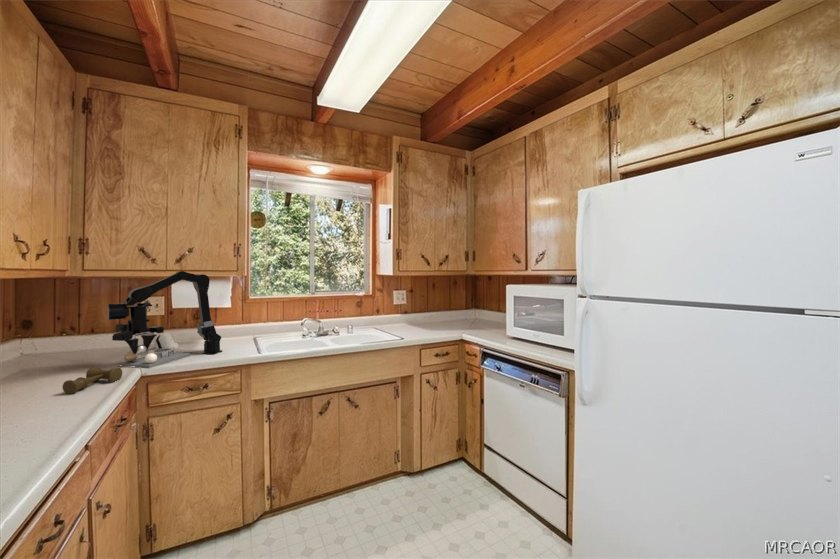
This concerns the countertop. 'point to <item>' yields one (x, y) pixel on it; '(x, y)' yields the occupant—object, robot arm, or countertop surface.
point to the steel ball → (141, 349)
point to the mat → (141, 361)
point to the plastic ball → (150, 358)
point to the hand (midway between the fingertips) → (140, 352)
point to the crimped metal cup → (163, 352)
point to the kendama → (92, 378)
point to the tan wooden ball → (130, 357)
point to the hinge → (164, 341)
